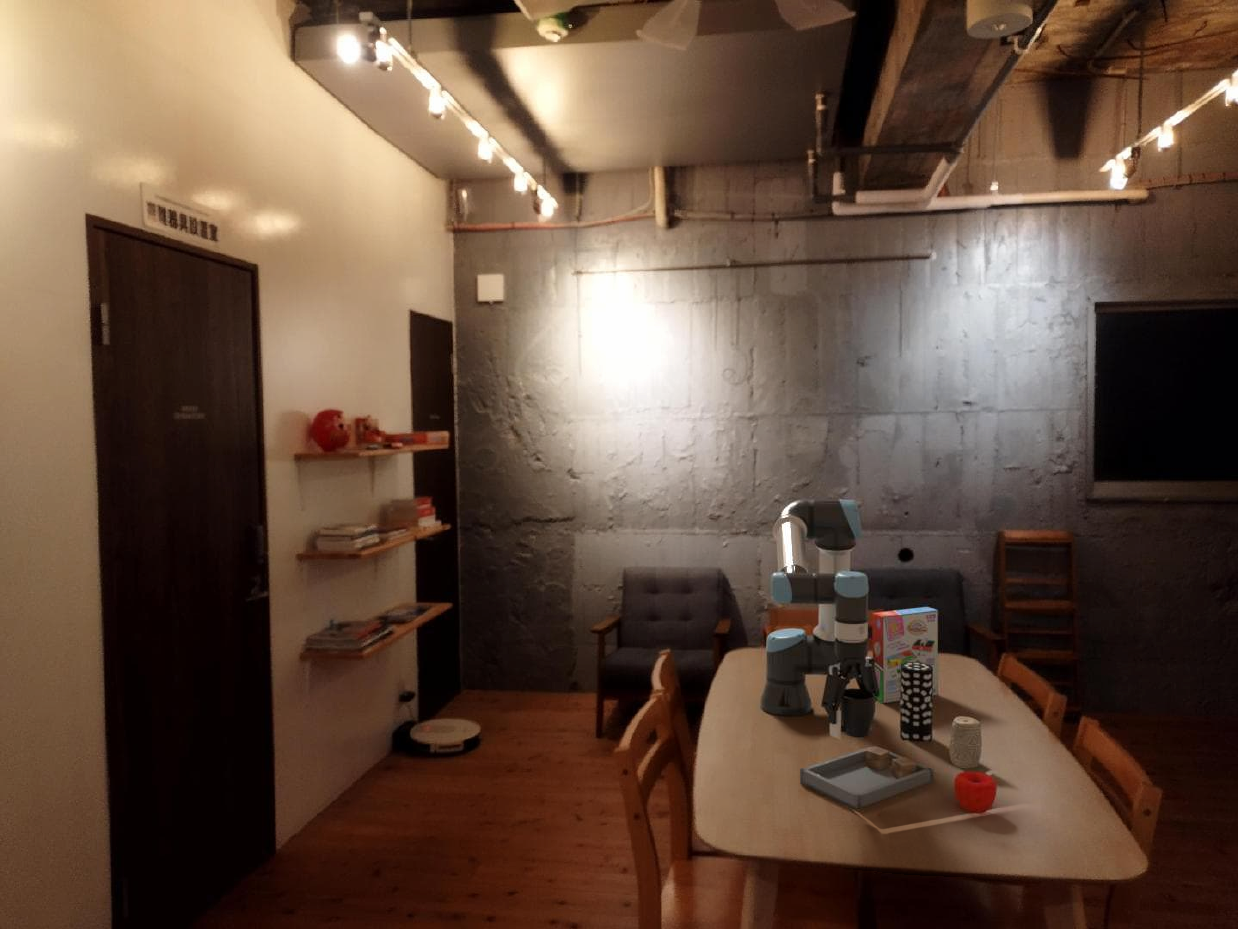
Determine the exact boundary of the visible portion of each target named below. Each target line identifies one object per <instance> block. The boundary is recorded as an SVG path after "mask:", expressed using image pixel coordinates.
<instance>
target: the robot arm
mask: <svg viewBox="0 0 1238 929" xmlns="http://www.w3.org/2000/svg"><path fill="white" fill-rule="evenodd" d="M771 530H772V536H773V538H774V540H775V541H776V552H777V553H776V555H777V560H776V561H777V572H773V573H772V574H771V576H770V598H771V600H772V602H774V603H779V604H786V605H788V604H789V605H790V604H799V605H800V604H804V605H805V604H812V605H813V604H815V605H818V624H817V625H816V626H815V627H814V628H813V630H812V632H813V634H807V632H806V631H805V630H804V629H803V628H790V627H789V628H783V629H777V630H775V631H773V632H771V633H769V634H768V635H767V637H766V644H765V645H766V646H765V652H766V659H765V660H766V663H765V664H766V668H765V670H766V672H765V673H766V674H765V675H766V676H765V678H766V679H765V684H764V687H763V692H762V695H761V697H760V708H761V709H762V710H763V711H765V712H767V713H769V714H773V715H777V716H786V717H791V716H801V715H805V714H808V713H809V712H811V711H812V700H811V697H810V694H809V690H808V687H807V683H806V675H808V676H809V675H810V676H826V679H825V684H824V689H823V695H822V699H821V705H820V706H821V707H822V708H824V709H825V708H826V709H828V713H827V715H828V719H827V721H828V724H829V736H831V737H833V738H836V739H837V740H838V739H839V740H840V739H841V738H842V734H841V733H842V732H841V725H842V720H841V711H840V709H839V705H840V703H841V700H842V697H843V694H844V692H845V689H847V685H849V684H850V683H851V681H852V680H853V679H855V681H856V684H857V687H858V689H861V690H863V691H864V692H866V693H867V694H868V692H869V691H871V692H873V693H874V694H875V697H879V695H880V693H879V688H878V683H877V678H876V672H875V659H874V658H873V657H871V656H868V655H869V651H868V650H869V642H868V640H867V639H868V638H869V637H868V636H869V632H868V626H869V625H868V622H869V620H868V619H869V618H868V616H869V615H868V614H869V613H868V612H869V611H868V609H869V591H870V589H869V588H870V587H869V581H868V580H869V577H868V576H867V575H866V573H864V572H860V571H854V570H853V571H851V570H850V569H851V552H852V551H853V550H854V549H855V548H856V546H857V544H856V543H857V542H859V541H861V540H862V534H863V532H862V523H861V517H860V511H859V507H858V504H857V502H856V501H855V500H852V499H841V498H838V499H837V498H829V499H828V498H827V499H826V498H822V499H821V498H819V499H817V498H816V499H814V498H813V499H807V498H802V499H798V500H794V501H792V502H790V503H788V504H787V505H785V506H784V507H782V509H781V510H779V512H778V513H777V514H776V516H775V517H774V520H773V522H772V529H771ZM805 540H809V541H811V540H812V541H814V546H815V548H816V549H818V550H819V573H817V572H809V570H808V561H807V558H808V557H807V551H806V541H805ZM873 689H874V690H873ZM876 702H878V701H877V698H875V703H876ZM872 726H873V725H872ZM872 726H871V729H870V730H873V729H872V728H873V727H872Z"/></svg>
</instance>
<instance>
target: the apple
mask: <svg viewBox="0 0 1238 929" xmlns="http://www.w3.org/2000/svg"><path fill="white" fill-rule="evenodd" d="M953 790H954V794H955V797H956V799H957V801H958V803H959V805H960V807H961V808H962V810H965V811H966V812H970V813H972V814H983V813H986V812H987V811H989V810H990V808H991V807H992V806H993V804H994V801H995V799H996V797H997V784H996V781H995V779H994V778H993V777H991V776H990V775H987V774H984V773H982V772H976V771H975V772H974V771H963V772H959V773H958V774H957V775H956V776H955V778H954V784H953Z"/></svg>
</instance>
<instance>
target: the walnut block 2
mask: <svg viewBox="0 0 1238 929" xmlns="http://www.w3.org/2000/svg"><path fill="white" fill-rule="evenodd" d="M903 757H904V756H903ZM914 762H915V761H914ZM914 762H913V760H911V759H910V758H908V757H907V756H906V757H904V758H898V759H892V776H893V777H895V778H896V779H899V778H902V777H905V776H908V775H911V774H913V773H916V763H917V762H916V763H914Z"/></svg>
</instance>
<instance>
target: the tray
mask: <svg viewBox="0 0 1238 929" xmlns="http://www.w3.org/2000/svg"><path fill="white" fill-rule="evenodd" d="M875 746H876V747H878V746H877V745H870V746H868V747H865V748H862V749H858V750H856V751H851V752H849V753H847V754H843V755H840V756H838V757H833V758H831V759H827V760H825V761H821V762H818V763H815V764H812V765H808V766H805V767H803V768H799V770H800V772H799V773H800V775H799V778H800V779H799V782H800V784H801V785H803V786H805V787H807V788H809V789H811V790H813V791H815V792H817V793H819V794H821V795H823V796H825V797H827V798H829V799H830V800H833V801H835V802H837V803H839V804H841V805H843V806H845V807H847V808H849V809H851V810H853V811H855V812H857V813H859V812H860V811H859V810H858V809H861V808H864V807H867V806H869V805H872V804H874V803H877V802H879V801H882V800H886V799H888V798H891V797H893V796H897V795H899V794H901V793H904V792H906V791H910V790H912V789H915V788H917V787H920V786H923V785H925V784H928V783H932V782H934V769H933V768H931V767H928V766H926V765H923V764H921V763H918V762H916V761H913V760H912V761H913V762H914V763H916V773H913V774H911V775H908V776H905V777H902V778H899V779H896V778H895V777H893V776H892V759H898V758H904V756H903V755H902V756H901V755H900V754H897V753H894V752H891V751H889V767H887V768H885V769H884V770H882V771H879V770H876V769H873V768H870V767H867V766H866V751H867V750H869V749H871V748H873V747H875Z"/></svg>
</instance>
